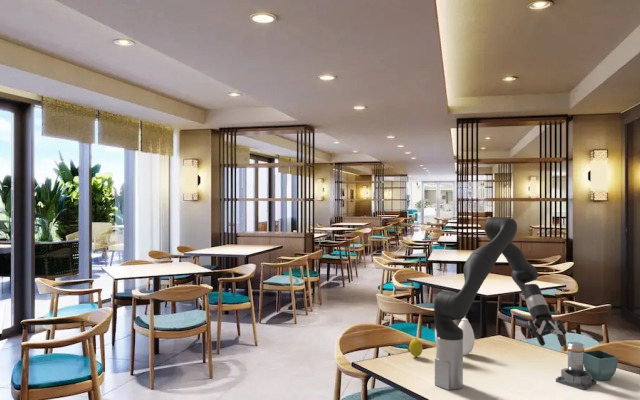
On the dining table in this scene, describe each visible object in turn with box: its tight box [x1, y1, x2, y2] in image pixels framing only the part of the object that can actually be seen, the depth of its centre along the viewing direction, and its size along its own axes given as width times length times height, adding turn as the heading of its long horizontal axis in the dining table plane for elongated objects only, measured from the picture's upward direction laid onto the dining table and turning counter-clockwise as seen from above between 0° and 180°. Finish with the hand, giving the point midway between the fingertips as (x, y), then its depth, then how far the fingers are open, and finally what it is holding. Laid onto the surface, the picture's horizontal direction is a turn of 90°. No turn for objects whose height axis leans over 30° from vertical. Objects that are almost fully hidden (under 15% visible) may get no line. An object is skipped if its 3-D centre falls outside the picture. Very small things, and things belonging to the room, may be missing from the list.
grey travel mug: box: [566, 341, 585, 376], centre depth 178 cm, size 6×6×13 cm
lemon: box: [408, 338, 424, 358], centre depth 205 cm, size 6×6×8 cm
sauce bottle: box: [457, 316, 475, 356], centre depth 210 cm, size 8×8×18 cm
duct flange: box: [555, 367, 598, 391], centre depth 178 cm, size 10×10×4 cm
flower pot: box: [583, 349, 619, 382], centre depth 183 cm, size 9×9×9 cm
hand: (553, 345), depth 190 cm, fingers open, 8 cm apart
